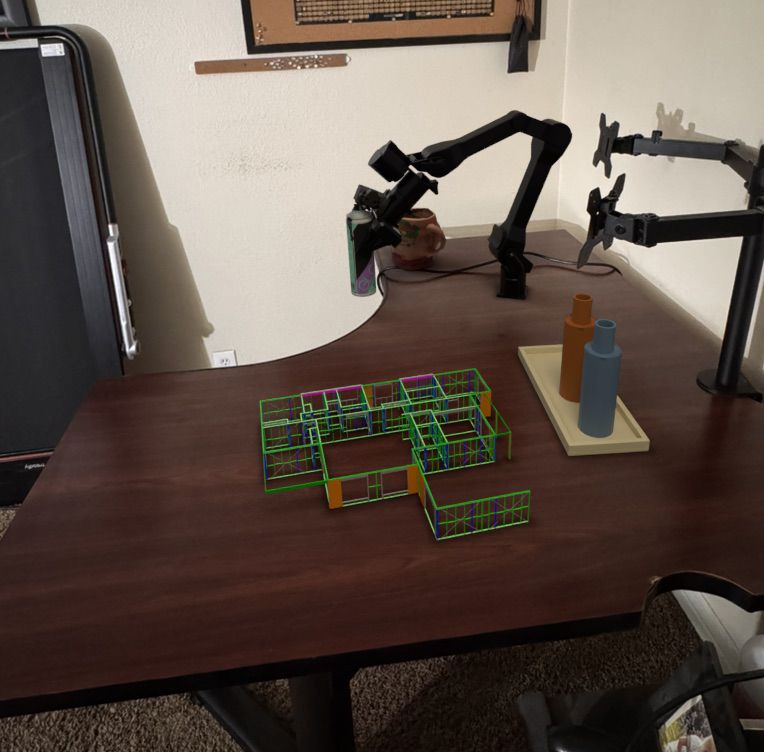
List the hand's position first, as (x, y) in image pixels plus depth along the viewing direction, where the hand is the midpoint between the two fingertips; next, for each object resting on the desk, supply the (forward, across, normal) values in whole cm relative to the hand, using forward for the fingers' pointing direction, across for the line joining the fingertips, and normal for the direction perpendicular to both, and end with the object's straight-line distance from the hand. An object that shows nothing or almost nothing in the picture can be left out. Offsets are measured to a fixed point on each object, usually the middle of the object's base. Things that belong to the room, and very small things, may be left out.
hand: (354, 251), depth 133 cm
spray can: (+6, 0, +8) cm, 10 cm away
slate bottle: (-12, +51, +31) cm, 60 cm away
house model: (+10, +52, +8) cm, 54 cm away
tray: (-12, +42, +31) cm, 54 cm away
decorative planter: (-3, -21, +22) cm, 31 cm away
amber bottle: (-12, +42, +31) cm, 54 cm away
